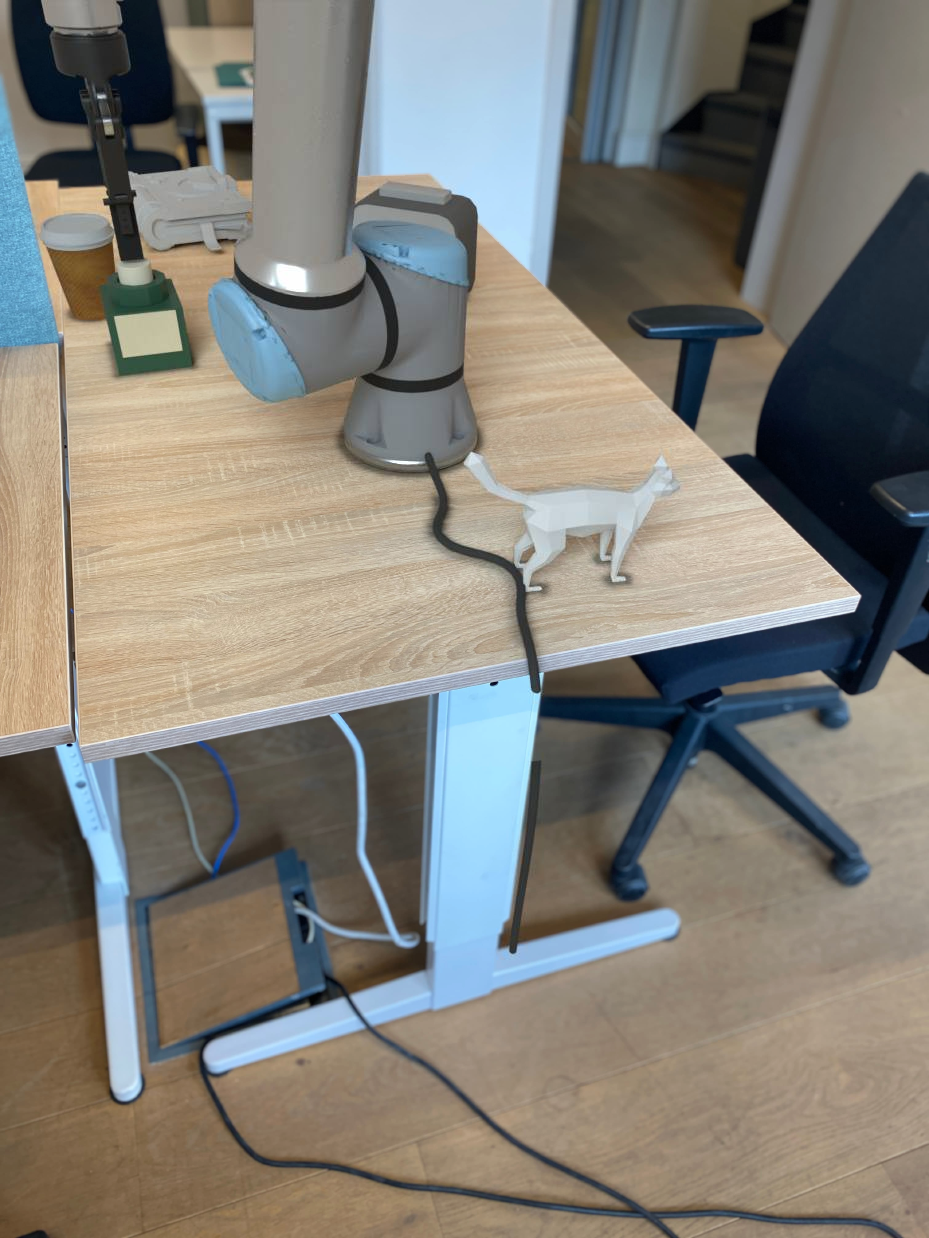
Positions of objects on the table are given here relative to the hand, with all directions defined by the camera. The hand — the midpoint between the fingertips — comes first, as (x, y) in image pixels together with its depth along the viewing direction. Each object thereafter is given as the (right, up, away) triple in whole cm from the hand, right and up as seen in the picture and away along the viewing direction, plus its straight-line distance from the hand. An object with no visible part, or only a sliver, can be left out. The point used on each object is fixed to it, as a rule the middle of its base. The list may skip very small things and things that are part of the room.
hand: (131, 258), depth 110 cm
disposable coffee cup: (-12, -1, +18) cm, 21 cm away
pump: (0, -2, +2) cm, 3 cm away
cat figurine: (+50, -40, -24) cm, 68 cm away
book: (-7, +23, +46) cm, 51 cm away
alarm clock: (+33, +4, +26) cm, 43 cm away
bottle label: (+2, -11, +3) cm, 11 cm away
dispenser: (0, -9, +8) cm, 12 cm away
